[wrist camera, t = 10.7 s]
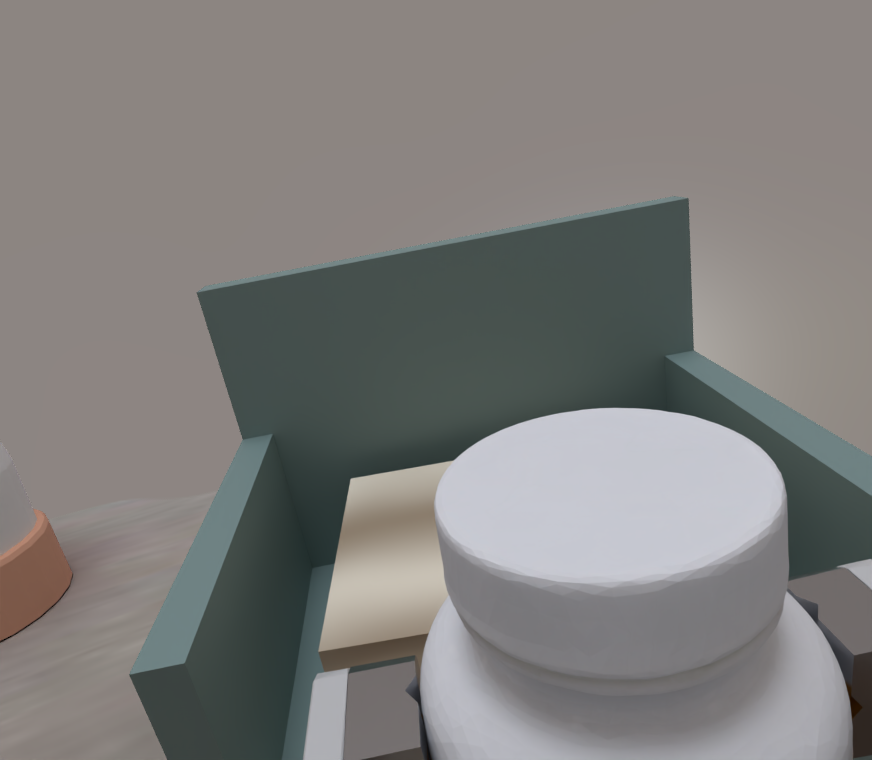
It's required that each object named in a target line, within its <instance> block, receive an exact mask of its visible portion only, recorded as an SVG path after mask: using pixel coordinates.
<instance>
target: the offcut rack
mask: <svg viewBox="0 0 872 760" xmlns="http://www.w3.org/2000/svg"><path fill="white" fill-rule="evenodd" d="M690 260H691V259H690V231H689V201H688V198H683V197H675V196H674V197H668V198H663V199H658V200H652V201H647V202H642V203H637V204H632V205H626V206H621V207H616V208H611V209H606V210H600V211H595V212H590V213H585V214H579V215H575V216H569V217H564V218H559V219H553V220H549V221H543V222H538V223H532V224H528V225H522V226H517V227H512V228H506V229H502V230H496V231H491V232H485V233H480V234H475V235H470V236H465V237H459V238H455V239H449V240H444V241H439V242H433V243H428V244H423V245H418V246H412V247H407V248H402V249H397V250H392V251H386V252H381V253H376V254H371V255H365V256H360V257H355V258H350V259H345V260H339V261H334V262H329V263H324V264H319V265H313V266H308V267H304V268H298V269H292V270H287V271H282V272H277V273H272V274H267V275H261V276H256V277H251V278H245V279H240V280H235V281H230V282H225V283H219V284H214V285H209V286H205V287H203V288H202V289H201V290H199V291H198V292H197V295H198V298H199V301H200V305H201V308H202V311H203V314H204V317H205V321H206V324H207V327H208V330H209V333H210V336H211V339H212V343H213V346H214V349H215V352H216V356H217V359H218V362H219V365H220V368H221V372H222V375H223V378H224V381H225V384H226V387H227V390H228V394H229V397H230V400H231V403H232V406H233V410H234V413H235V416H236V419H237V422H238V425H239V429H240V432H241V435H242V438H243V440H242V443H241V445H240V447H239V449H238V451H237V453H236V455H235V457H234V459H233V461H232V463H231V465H230V467H229V470H228V472H227V473H226V476H225V478H224V480H223V482H222V484H221V486H220V488H219V490H218V492H217V494H216V496H215V498H214V500H213V502H212V505H211V507H210V509H209V511H208V513H207V515H206V517H205V519H204V521H203V523H202V525H201V527H200V529H199V531H198V533H197V536H196V538H195V540H194V542H193V544H192V546H191V548H190V550H189V552H188V554H187V556H186V558H185V560H184V562H183V564H182V567H181V569H180V571H179V573H178V575H177V577H176V579H175V581H174V583H173V585H172V587H171V589H170V591H169V593H168V595H167V598H166V600H165V602H164V604H163V606H162V608H161V610H160V612H159V614H158V616H157V618H156V620H155V622H154V624H153V627H152V629H151V631H150V633H149V635H148V637H147V639H146V641H145V643H144V645H143V647H142V649H141V651H140V653H139V655H138V658H137V660H136V662H135V664H134V666H133V668H132V670H131V672H130V674H129V675H130V677H131V680H132V682H133V684H134V686H135V689H136V691H137V693H138V695H139V697H140V700H141V702H142V704H143V706H144V709H145V711H146V713H147V715H148V717H149V720H150V722H151V724H152V726H153V729H154V731H155V733H156V735H157V738H158V740H159V742H160V744H161V746H162V749H163V751H164V753H165V755H166V758H167V760H303V755H304V747H305V740H306V732H307V724H308V716H309V709H310V701H311V693H312V685H313V681H314V679H315V677H316V675H317V674H318V673H324V669H323V666H322V662H321V659H320V656H319V653H318V651H319V645H320V640H321V635H322V629H323V624H324V619H325V613H326V608H327V603H328V597H329V592H330V587H331V581H332V576H333V571H334V565H335V560H336V555H337V549H338V544H339V539H340V533H341V528H342V523H343V517H344V512H345V507H346V501H347V496H348V491H349V485H350V480H351V479H352V478H357V477H363V476H369V475H374V474H380V473H386V472H392V471H397V470H403V469H409V468H414V467H420V466H426V465H431V464H437V463H443V462H449V461H454V460H455V459H456V458H457V457H458V456H459V455H461V454H462V453H463V452H464V451H466V450H467V449H468V448H470V447H471V446H473V445H474V444H476V443H477V442H479V441H481V440H482V439H484V438H486V437H488V436H490V435H492V434H494V433H496V432H498V431H500V430H503V429H505V428H508V427H511V426H513V425H516V424H519V423H522V422H526V421H529V420H532V419H536V418H539V417H544V416H549V415H553V414H558V413H564V412H572V411H579V410H585V409H597V408H640V409H651V410H661V411H667V412H673V413H680V414H685V415H690V416H695V417H698V418H701V419H704V420H707V421H710V422H713V423H716V424H719V425H722V426H724V427H726V428H729V429H731V430H733V431H735V432H737V433H739V434H741V435H743V436H745V437H746V438H748V439H750V440H751V441H752V442H754V443H755V444H757V445H758V446H759V447H761V448H762V449H763V450H764V451H765V452H766V453H767V454H768V456H769V457H770V458H771V459H772V460H773V461H774V463H775V464H776V466H777V468H778V469H779V471H780V472H781V475H782V478H783V481H784V484H785V489H786V494H787V513H788V556H789V576H788V577H792V576H797V575H801V574H806V573H810V572H815V571H820V570H824V569H829V568H836V567H837V566H841V565H845V564H850V563H854V562H859V561H863V560H867V559H872V456H870V455H868V454H867V453H865V452H863V451H861V450H860V449H858V448H857V447H855V446H853V445H852V444H850V443H848V442H847V441H845V440H843V439H842V438H840V437H838V436H836V435H835V434H833V433H831V432H829V431H828V430H826V429H825V428H823V427H821V426H820V425H818V424H816V423H815V422H813V421H811V420H810V419H808V418H806V417H805V416H803V415H801V414H800V413H798V412H796V411H795V410H793V409H791V408H789V407H788V406H786V405H785V404H783V403H781V402H779V401H778V400H776V399H774V398H773V397H771V396H769V395H768V394H766V393H764V392H763V391H761V390H759V389H758V388H756V387H754V386H752V385H751V384H749V383H748V382H746V381H744V380H743V379H741V378H739V377H738V376H736V375H734V374H733V373H731V372H729V371H727V370H726V369H724V368H722V367H721V366H719V365H717V364H716V363H714V362H712V361H711V360H709V359H707V358H706V357H704V356H702V355H700V354H699V353H697V352H695V351H694V349H693V348H694V346H693V317H692V289H691V288H692V287H691V261H690ZM853 760H872V755H869V756H864V757H858V758H853Z"/></svg>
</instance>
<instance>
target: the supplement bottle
mask: <svg viewBox="0 0 872 760" xmlns="http://www.w3.org/2000/svg"><path fill="white" fill-rule="evenodd" d="M434 511H435V521H436V527H437V534H438V540H439V545H440V551H441V556H442V562H443V568H444V579H445V584H446V588H447V592H448V594H449V595H448V597H447V598H446V600H445V601H444V603H443V604H442V606H441V607H440V609H439V611H438V613H437V615H436V617H435V619H434V621H433V623H432V626H431V629H430V631H429V634H428V637H427V640H426V643H425V647H424V652H423V657H422V663H421V673H420V694H421V706H422V714H423V719H424V725H425V731H426V736H427V742H428V748H429V752H430V756H431V760H853V725H852V716H851V706H850V700H849V696H848V691H847V687H846V683H845V679H844V677H843V674H842V671H841V669H840V666H839V663H838V661H837V659H836V657H835V655H834V653H833V650H832V648H831V646H830V644H829V643H828V641H827V639H826V638H825V636H824V634H823V632H822V631H821V629H820V628H819V627H818V626H817V624H816V623H815V622H814V621H813V619H812V618H811V617H810V615H809V614H808V613H807V612H806V611H805V609H804V608H803V607H802V606H801V605H800V604H799V603H798V602H797V601H796V600H795V599H794V598H793V597H792V596H791V595H790V594H789V593H788V592H787V588H788V576H789V556H788V513H787V494H786V489H785V484H784V481H783V478H782V475H781V472H780V471H779V469H778V468H777V466H776V464H775V463H774V461H773V460H772V459H771V458H770V457H769V456H768V454H767V453H766V452H765V451H764V450H763V449H762V448H761V447H759V446H758V445H757V444H755V443H754V442H752V441H751V440H750V439H748V438H746V437H745V436H743V435H741V434H739V433H737V432H735V431H733V430H731V429H729V428H726V427H724V426H722V425H719V424H716V423H713V422H710V421H707V420H704V419H701V418H698V417H695V416H690V415H685V414H680V413H673V412H667V411H661V410H651V409H640V408H597V409H585V410H579V411H572V412H564V413H558V414H553V415H549V416H544V417H539V418H536V419H532V420H529V421H526V422H522V423H519V424H516V425H513V426H511V427H508V428H505V429H503V430H500V431H498V432H496V433H494V434H492V435H490V436H488V437H486V438H484V439H482V440H481V441H479V442H477V443H476V444H474V445H473V446H471V447H470V448H468V449H467V450H466V451H464V452H463V453H462V454H461V455H459V456H458V457H457V458H456V459H455V460H454V461H453V462H452V464H451V465H450V466H449V467H448V468H447V470H446V471H445V473H444V474H443V476H442V478H441V479H440V482H439V484H438V487H437V491H436V495H435V500H434Z"/></svg>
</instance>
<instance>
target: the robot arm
mask: <svg viewBox="0 0 872 760" xmlns="http://www.w3.org/2000/svg"><path fill="white" fill-rule="evenodd" d="M787 592H788V593H789V594H790V595H791V596H792V597H793V598H794V599H795V600H796V601H797V602H798V603H799V604H800V605H801V606H802V607H803V608H804V609H805V611H806V612H807V613H808V614H809V615H810V617H811V618H812V619H813V621H814V622H815V623H816V624H817V626H818V627H819V628H820V629H821V631H822V632H823V634H824V636H825V638H826V639H827V641H828V643H829V644H830V646H831V648H832V650H833V653H834V655H835V657H836V659H837V661H838V663H839V666H840V669H841V671H842V674H843V677H844V679H845V683H846V687H847V691H848V696H849V700H850V706H851V716H852V725H853V758H858V757H864V756H869V755H872V559H867V560H863V561H859V562H854V563H850V564H845V565H841V566H837V567H836V568H829V569H824V570H820V571H815V572H810V573H806V574H801V575H797V576H792V577H788V588H787ZM420 673H421V671H420V668H419V664H418V660H417V657H416V656H415V655H413V656H408V657H402V658H397V659H391V660H386V661H380V662H375V663H369V664H364V665H358V666H353V667H350V668H347V669H341V670H335V671H329V672H324V673H318V674H317V675H316V677H315V679H314V681H313V685H312V693H311V701H310V709H309V716H308V724H307V732H306V740H305V747H304V755H303V760H431V756H430V752H429V748H428V742H427V736H426V731H425V725H424V719H423V714H422V706H421V694H420Z"/></svg>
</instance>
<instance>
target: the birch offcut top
mask: <svg viewBox="0 0 872 760" xmlns="http://www.w3.org/2000/svg"><path fill="white" fill-rule="evenodd" d="M452 462H453V461H449V462H443V463H437V464H431V465H426V466H420V467H414V468H409V469H403V470H397V471H392V472H386V473H380V474H374V475H369V476H363V477H357V478H352V479H351V480H350V485H349V491H348V496H347V501H346V507H345V512H344V517H343V523H342V528H341V533H340V539H339V544H338V549H337V555H336V560H335V565H334V571H333V576H332V581H331V587H330V592H329V597H328V603H327V608H326V613H325V619H324V624H323V629H322V635H321V640H320V645H319V651H318V653H319V656H320V659H321V662H322V666H323V669H324V672H329V671H335V670H341V669H347V668H350V667H353V666H358V665H364V664H369V663H375V662H380V661H386V660H391V659H397V658H402V657H408V656H413V655H415V656H416V657H417V660H418V664H419V668H420V671H421V663H422V657H423V652H424V647H425V643H426V640H427V637H428V634H429V631H430V629H431V626H432V623H433V621H434V619H435V617H436V615H437V613H438V611H439V609H440V607H441V606H442V604H443V603H444V601H445V600H446V598H447V597H448V595H449V594H448V592H447V588H446V584H445V579H444V568H443V562H442V556H441V551H440V545H439V540H438V534H437V527H436V521H435V511H434V500H435V495H436V491H437V487H438V484H439V482H440V479H441V478H442V476H443V474H444V473H445V471H446V470H447V468H448V467H449V466H450V465H451V464H452Z"/></svg>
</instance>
